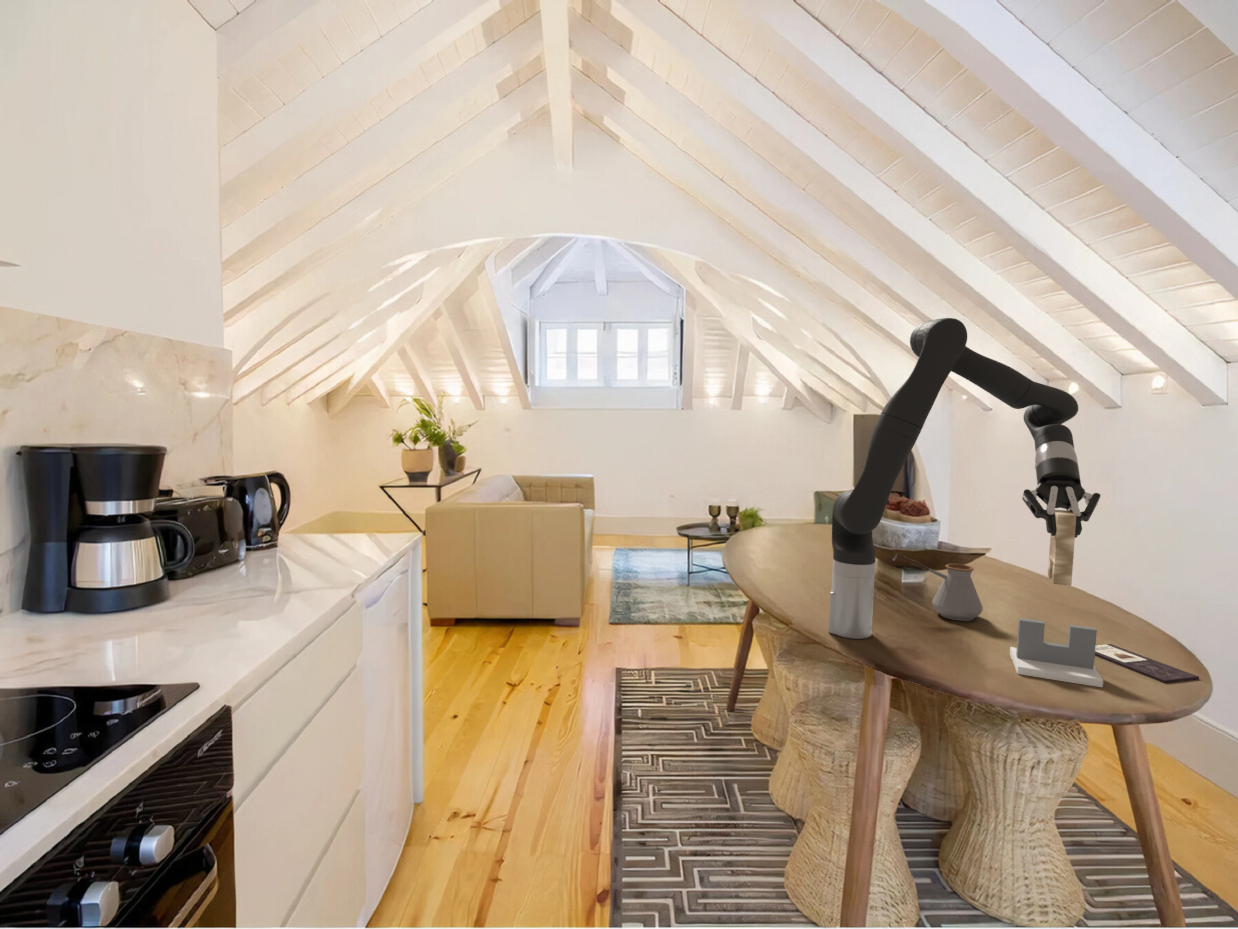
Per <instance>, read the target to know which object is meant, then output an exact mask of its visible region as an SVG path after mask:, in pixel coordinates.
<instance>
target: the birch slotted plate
mask: <svg viewBox="0 0 1238 929" xmlns="http://www.w3.org/2000/svg"><path fill="white" fill-rule="evenodd" d="M1054 516H1055V520H1056V529H1057V531H1056V535H1055V536H1051V533H1049V534H1050V536H1049V537H1050V539H1049V550H1048V552H1049V553H1048V563H1047V564H1048V566H1047V578H1048V579H1051V583H1052V584H1053V585H1059V586H1060V585H1062V586H1068V587H1069V586H1072V580H1073V570H1074V554H1075V540H1076V539H1075V527H1076V515H1075V514H1074V513H1072V512H1071V511H1066V509H1062V510H1061V509H1055V511H1054Z"/></svg>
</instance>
